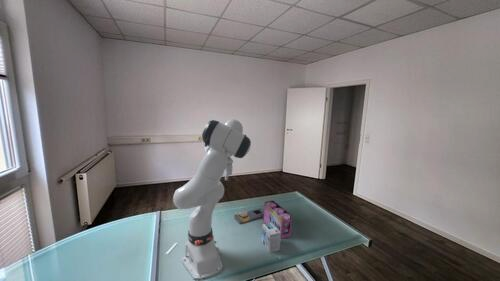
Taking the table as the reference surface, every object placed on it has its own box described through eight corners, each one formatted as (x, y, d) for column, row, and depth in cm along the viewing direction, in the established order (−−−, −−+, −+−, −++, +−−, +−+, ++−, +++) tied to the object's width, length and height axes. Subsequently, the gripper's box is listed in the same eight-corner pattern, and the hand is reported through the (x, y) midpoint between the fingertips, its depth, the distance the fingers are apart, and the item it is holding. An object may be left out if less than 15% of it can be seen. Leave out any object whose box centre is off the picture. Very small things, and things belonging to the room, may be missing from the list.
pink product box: (292, 237, 118) (294, 216, 117) (281, 240, 115) (282, 219, 113) (272, 218, 140) (273, 200, 138) (263, 220, 137) (263, 201, 135)
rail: (266, 216, 141) (266, 212, 141) (239, 224, 130) (239, 220, 130) (260, 212, 148) (260, 208, 148) (234, 219, 137) (234, 214, 137)
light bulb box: (261, 241, 114) (261, 223, 113) (271, 238, 116) (272, 222, 115) (269, 253, 104) (270, 234, 103) (280, 250, 106) (281, 232, 105)
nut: (247, 220, 135) (247, 211, 135) (241, 221, 133) (242, 213, 133) (244, 217, 139) (244, 209, 138) (239, 218, 137) (239, 210, 136)
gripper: (214, 156, 141) (213, 174, 143) (225, 162, 123) (225, 183, 125) (222, 155, 144) (221, 173, 146) (234, 161, 127) (233, 181, 128)
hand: (223, 178), depth 135 cm, fingers open, 8 cm apart
